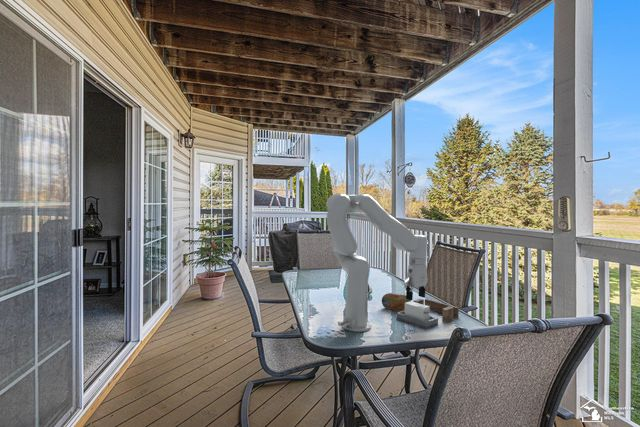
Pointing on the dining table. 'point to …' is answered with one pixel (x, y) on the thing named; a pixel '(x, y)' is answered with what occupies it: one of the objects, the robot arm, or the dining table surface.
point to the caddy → (417, 311)
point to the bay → (441, 309)
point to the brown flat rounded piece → (394, 301)
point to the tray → (417, 320)
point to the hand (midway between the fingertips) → (415, 298)
